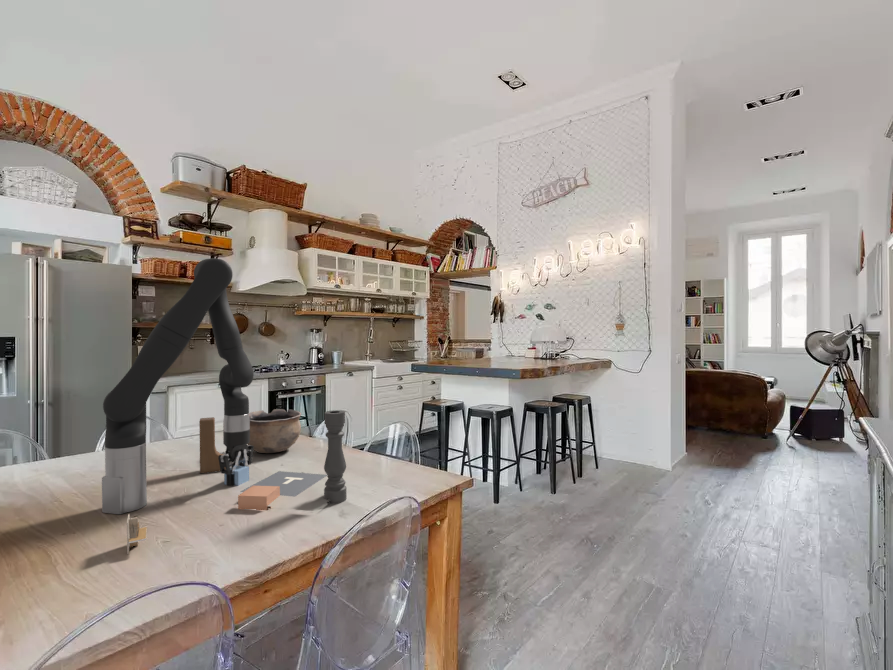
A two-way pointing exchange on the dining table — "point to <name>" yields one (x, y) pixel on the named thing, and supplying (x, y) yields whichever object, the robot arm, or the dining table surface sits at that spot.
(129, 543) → the architectural model
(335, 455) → the candle holder
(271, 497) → the terracotta block
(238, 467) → the blue cube
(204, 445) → the wooden block
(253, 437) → the ceramic bowl
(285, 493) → the letter board
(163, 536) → the dining table surface
